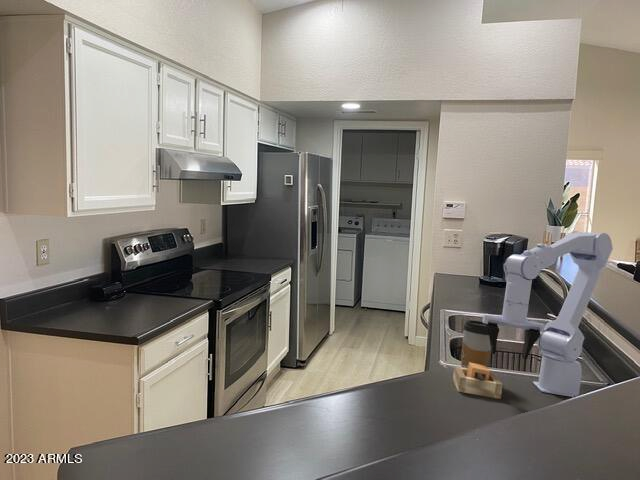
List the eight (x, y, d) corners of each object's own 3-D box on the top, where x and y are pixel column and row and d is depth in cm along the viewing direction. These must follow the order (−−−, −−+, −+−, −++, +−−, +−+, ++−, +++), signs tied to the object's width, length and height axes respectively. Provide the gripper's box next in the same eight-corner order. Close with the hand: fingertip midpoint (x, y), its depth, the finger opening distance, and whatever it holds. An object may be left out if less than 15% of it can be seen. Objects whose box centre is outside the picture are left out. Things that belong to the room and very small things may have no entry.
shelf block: (491, 386, 124) (494, 368, 124) (500, 398, 114) (503, 379, 114) (452, 379, 125) (455, 361, 125) (458, 391, 115) (460, 372, 115)
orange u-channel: (482, 384, 122) (485, 365, 121) (486, 390, 117) (490, 371, 116) (465, 381, 122) (469, 362, 122) (468, 387, 117) (472, 367, 117)
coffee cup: (453, 370, 134) (460, 318, 133) (482, 374, 134) (489, 322, 133) (461, 380, 125) (469, 324, 125) (493, 384, 125) (500, 328, 125)
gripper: (489, 300, 116) (482, 354, 116) (551, 309, 114) (543, 364, 114) (484, 296, 123) (476, 348, 123) (542, 305, 121) (535, 357, 121)
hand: (508, 355), depth 119 cm, fingers open, 7 cm apart
